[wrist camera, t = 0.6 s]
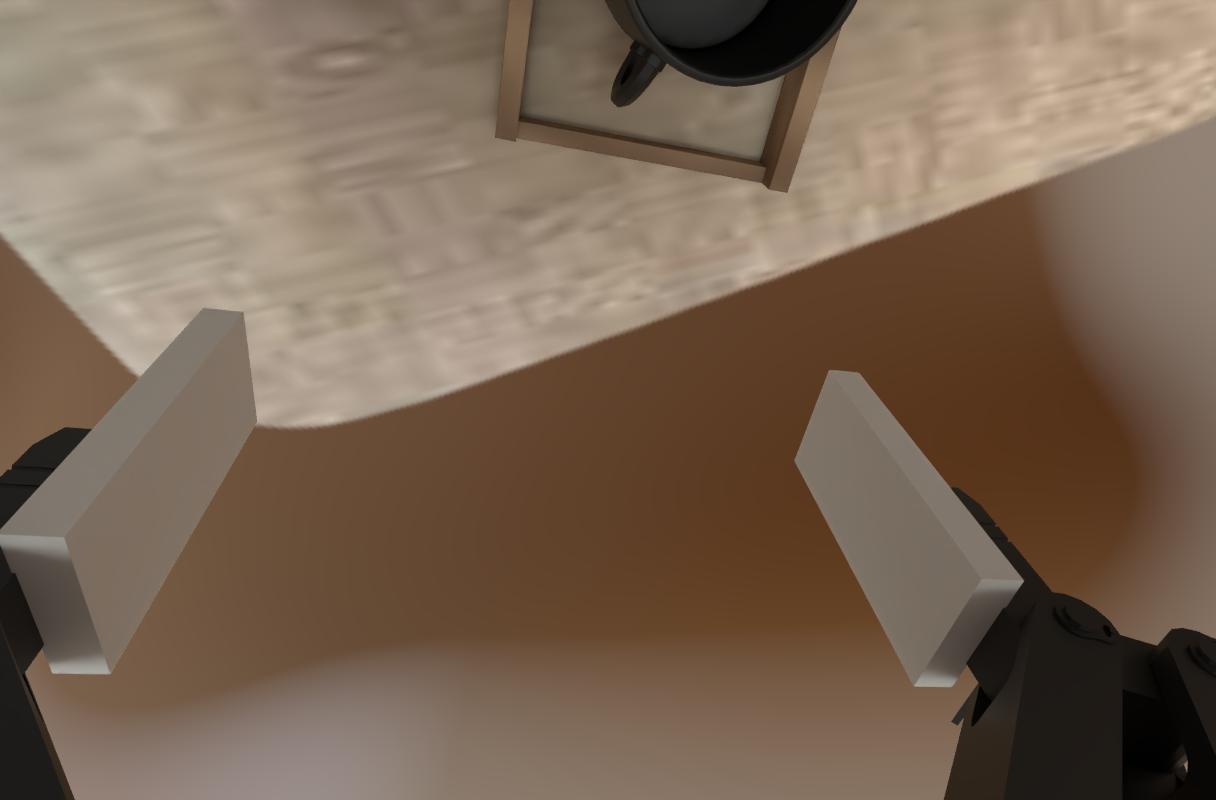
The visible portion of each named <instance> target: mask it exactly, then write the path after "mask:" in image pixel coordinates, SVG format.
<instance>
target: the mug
mask: <svg viewBox="0 0 1216 800" xmlns="http://www.w3.org/2000/svg"><path fill="white" fill-rule="evenodd" d="M605 1H606V3H607V5H608V7H609V9H610V11H611V13H612V15H613V17H614V18H615V20H616V21H617V22H618V24H619V25H620V26H621V28H622V29H623V30H624V31H625V32H626V33H627V34H628V35H629V36H630V37H631V38H632V39H633V40H634V42H633V43H632V45H631V47H630V49H631V51H630V53H629V54H628V56H627V57H626V59H625V61H624V62H623V64H622V66H621V68H620V70H619V72H618V74H617V76H616V78H615V81H614V83H613V87H612V92H611V101H612V102H613V103H614V104H615V105H616V106H617V107H623V106H627V105H630V104H631V103H633V102H634V101H635V100H636V99H637V98H638V97H639V96H640V95H641V94H642V93H643V92H644V91H645V89H646V88H647V87H648V86H649V84H650V83H651V82H652V80H653V79H654V78H655V76H656V75H657V74H658V72H661V71H662V70H663V68H664V67H665V65H666V64H669V65H670V66H672V67H673V68H675V69H676V70H678V71H679V72H681V73H683V74H685V75H687V76H689V77H691V78H694V79H696V80H698V81H701V82H705V83H709V84H713V85H719V86H732V87H738V86H748V85H754V84H759V83H763V82H766V81H770V80H773V79H776V78H778V77H780V76H782V75H784V74H786V73H788V72H790V71H792V70H794V69H795V68H797V67H799V66H800V65H802V64H803V63H805V62H806V61H808V60H809V59H810V58H811V57H813V56H814V55H815V54H816V53H817V52H818V51H819V50H821V49H822V48H823V47H824V46H825V45H826V44H827V43H828V42H829V41H830V39H831V38H832V37H833V36H834V35H835V34H836V32H837V31H838V30H839V29H840V28H841V26H842V25H843V23H844V22H845V20H846V19H847V17H848V16H849V14H850V13H851V11H852V9H853V8H854V6H855V4H856V2H857V0H605Z"/></svg>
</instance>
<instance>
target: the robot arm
mask: <svg viewBox="0 0 1216 800" xmlns="http://www.w3.org/2000/svg"><path fill="white" fill-rule="evenodd" d="M256 422H257V416H256V408H255V400H254V392H253V384H252V376H251V368H250V360H249V352H248V344H247V336H246V329H245V321H244V313H243V312H238V311H228V310H217V309H207V308H203V309H202V310H201V311H200V313H199V314H198V315H197V316H196V317H195V318H194V319H193V320H192V321H191V322H190V323H189V325H188V326H187V327H186V328H185V329H184V330H183V331H182V332H181V333H180V334H179V335H178V337H177V338H176V339H175V340H174V341H173V342H172V343H171V344H170V345H169V346H168V347H167V349H166V350H165V351H164V352H163V353H162V354H161V355H160V356H159V357H158V358H157V359H156V361H155V362H154V363H153V364H152V365H151V366H150V367H149V368H148V369H147V370H146V371H145V372H144V374H143V375H142V376H141V377H140V378H139V379H138V380H137V381H136V382H135V383H134V385H133V386H132V387H131V388H130V389H129V390H128V391H127V392H126V393H125V394H124V395H123V396H122V398H121V399H120V400H119V401H118V402H117V403H116V404H115V405H114V406H113V407H112V408H111V410H110V411H109V412H108V413H107V414H106V415H105V416H104V417H103V418H102V419H101V420H100V422H99V423H98V424H97V425H96V426H95V427H94V428H93V429H82V428H68V427H65V428H63V429H61V430H59V431H57V432H56V433H54V434H52V435H50V436H48V437H46V438H44V439H43V440H41V441H39V442H37V443H35V444H33V445H32V446H31V447H30V448H29V449H28V450H27V451H26V452H25V453H24V454H23V455H22V456H21V457H20V458H19V459H18V460H17V461H16V462H15V463H14V464H13V465H12V469H11V470H7V471H6V472H5V473H4V474H3V475H2V476H1V477H0V800H75V799H74V796H73V794H72V791H71V789H70V786H69V783H68V781H67V778H66V776H65V773H64V771H63V768H62V765H61V763H60V760H59V758H58V755H57V753H56V750H55V748H54V745H53V742H52V740H51V737H50V735H49V732H48V730H47V727H46V724H45V722H44V719H43V717H42V714H41V712H40V709H39V706H38V704H37V702H36V699H35V696H34V694H33V691H32V689H31V686H30V684H29V681H28V679H27V677H26V674H25V671H26V670H27V669H28V667H29V666H30V664H31V663H32V661H33V660H34V659H35V657H36V656H37V654H38V653H39V651H40V650H41V649H43V651H44V653H45V656H46V658H47V661H48V663H49V666H50V668H51V670H52V673H68V674H70V673H71V674H111V672H112V671H113V669H114V667H115V665H116V663H117V662H118V660H119V658H120V657H121V655H122V653H123V651H124V650H125V648H126V646H127V645H128V643H129V641H130V639H131V638H132V636H133V634H134V633H135V631H136V629H137V627H138V626H139V624H140V622H141V621H142V619H143V617H144V615H145V614H146V612H147V610H148V608H149V607H150V605H151V603H152V601H153V600H154V598H155V596H156V595H157V593H158V591H159V589H160V588H161V586H162V584H163V583H164V581H165V579H166V577H167V576H168V574H169V572H170V570H171V568H172V567H173V565H174V564H175V562H176V560H177V558H178V557H179V555H180V553H181V551H182V550H183V548H184V546H185V545H186V543H187V541H188V539H189V538H190V536H191V534H192V532H193V531H194V529H195V527H196V526H197V524H198V522H199V521H200V519H201V517H202V515H203V514H204V512H205V510H206V508H207V507H208V505H209V503H210V502H211V500H212V498H213V496H214V495H215V493H216V491H217V489H218V488H219V486H220V484H221V483H222V481H223V479H224V477H225V476H226V474H227V472H228V471H229V469H230V467H231V465H232V464H233V462H234V460H235V458H236V457H237V455H238V453H239V452H240V450H241V448H242V446H243V445H244V443H245V441H246V439H247V438H248V436H249V434H250V433H251V431H252V429H253V427H254V426H255V424H256ZM795 462H796V464H797V466H798V468H799V470H800V472H801V474H802V476H803V478H804V480H805V482H806V483H807V485H808V487H809V489H810V491H811V493H812V495H813V497H814V499H815V500H816V502H817V504H818V506H819V508H820V510H821V512H822V513H823V516H824V517H825V519H826V521H827V523H828V525H829V527H830V529H831V531H832V532H833V534H834V536H835V538H836V540H837V542H838V544H839V546H840V547H841V549H842V551H843V553H844V555H845V557H846V559H847V560H848V563H849V565H850V566H851V568H852V570H853V572H854V574H855V576H856V578H857V579H858V582H859V583H860V585H861V587H862V589H863V591H864V593H865V595H866V597H867V598H868V600H869V602H870V604H871V606H872V608H873V610H874V612H875V613H876V616H877V617H878V619H879V621H880V623H881V625H882V627H883V629H884V630H885V633H886V634H887V636H888V638H889V640H890V642H891V644H892V646H893V648H894V650H895V651H896V653H897V655H898V657H899V659H900V661H901V662H902V665H903V667H904V668H905V670H906V672H907V674H908V676H909V678H910V680H911V682H912V683H913V685H914V686H922V687H926V686H928V687H952V686H953V685H954V683H955V682H956V680H957V679H958V678H959V676H960V675H961V673H962V672H963V670H964V669H965V667H966V666H967V665H968V667H969V668H970V670H971V671H972V673H973V675H974V676H975V678H976V680H977V681H978V684H977V686H976V687H975V689H974V690H973V691H972V693H971V694H970V696H969V697H968V698H967V700H966V701H965V703H964V704H963V706H962V707H961V708H960V710H959V711H958V713H957V714H956V715H955V717H954V718H953V720H952V721H951V722H953V723H954V724H956V725H958V724H959V723H960V722H961V720H962V719H963V718H964V720H963V724H962V728H961V732H960V736H959V741H958V745H957V749H956V752H955V757H954V761H953V765H952V769H951V773H950V777H949V781H948V785H947V789H946V793H945V797H944V800H1216V639H1214V638H1211V637H1209V636H1207V635H1204V634H1202V633H1200V632H1197V631H1193V630H1189V629H1184V628H1178V629H1171V631H1170V632H1169V633H1168V634H1167V635H1166V636H1165V637H1164V638H1163V640H1162V641H1161V642H1160V643H1159V644H1158V645H1157V646H1156V645H1153V644H1149V643H1145V642H1142V641H1139V640H1135V639H1132V638H1128V637H1125V636H1122V635H1120V634H1119V633H1118V631H1117V630H1116V628H1115V627H1114V626H1113V625H1112V623H1111V622H1110V621H1109V620H1108V619H1107V618H1106V617H1105V616H1103V615H1102V614H1101V613H1100V612H1099V611H1097V610H1096V609H1095V608H1093V607H1091V606H1090V605H1088V604H1086V603H1085V602H1083V601H1081V600H1079V599H1077V598H1074V597H1071V596H1069V595H1066V594H1061V593H1054V592H1052V591H1051V590H1050V589H1049V587H1048V586H1047V585H1046V584H1045V582H1044V581H1043V580H1042V579H1041V578H1040V576H1039V575H1038V574H1037V573H1036V572H1035V570H1034V569H1033V568H1032V567H1031V566H1030V564H1029V563H1028V562H1027V561H1026V559H1025V558H1024V557H1023V556H1022V555H1021V553H1020V552H1019V551H1018V550H1017V549H1016V547H1015V546H1014V545H1013V544H1012V542H1008V538H1007V536H1006V535H1005V534H1004V533H1003V532H1002V530H1001V529H1000V528H999V527H996V526H995V524H996V523H995V522H994V521H993V519H992V518H991V517H990V516H989V515H988V514H987V512H986V511H985V510H984V509H983V508H982V506H981V505H980V504H979V503H977V502H976V501H975V500H973V499H972V498H971V497H969V496H968V495H967V494H966V493H964V492H963V491H961V490H960V489H959V488H954V487H949V486H948V484H947V483H946V482H945V481H944V479H943V478H942V477H941V476H940V474H939V473H938V472H937V471H936V469H935V468H934V467H933V466H932V464H931V463H930V462H929V461H928V459H927V458H926V457H925V456H924V454H923V453H922V452H921V451H920V449H919V448H918V447H917V445H916V444H915V443H914V442H913V441H912V439H911V438H910V437H909V435H908V434H907V433H906V432H905V430H904V429H903V428H902V427H901V425H900V424H899V423H898V422H897V421H896V419H895V418H894V417H893V415H892V414H891V413H890V412H889V410H888V409H887V408H886V406H885V405H884V404H883V403H882V401H881V400H880V399H879V398H878V397H877V395H876V394H875V393H874V391H873V390H872V389H871V388H870V386H869V385H868V384H867V383H866V381H865V380H864V379H863V378H862V376H861V375H860V374H859V373H856V372H845V371H835V370H829V372H828V375H827V377H826V380H825V383H824V385H823V388H822V390H821V394H820V396H819V399H818V401H817V404H816V406H815V409H814V412H813V414H812V417H811V419H810V422H809V424H808V427H807V430H806V432H805V435H804V438H803V440H802V443H801V445H800V448H799V451H798V453H797V456H796V458H795ZM1187 761H1188V770H1187V772H1186V769H1185V766H1184V764H1185V763H1186V762H1187Z"/></svg>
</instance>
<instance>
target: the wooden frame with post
mask: <svg viewBox="0 0 1216 800" xmlns="http://www.w3.org/2000/svg"><path fill="white" fill-rule="evenodd" d="M532 4H533V0H510V2H509V11H508V21H507V30H506V39H505V49H504V58H503V67H502V77H501V86H500V96H499V105H498V114H497V124H496V133H495V138H500V139H505V140H511V141H516V138H519V139H524V140H530V141H535V142H541V143H546V144H552V145H557V146H563V147H568V148H574V149H579V150H585V151H590V152H595V153H601V154H606V155H612V156H617V157H623V158H628V159H634V160H639V161H645V162H650V163H656V164H661V165H667V166H672V167H678V168H683V169H689V170H694V171H700V172H705V173H711V174H716V175H722V176H727V177H733V178H738V179H744V180H749V181H755V182H760V183H763V184H764V185H765V186H766V187H767V188H768V189H769V190H775V191H780V192H786V193H787V192H788V189H789V186H790V183H791V180H792V177H793V174H794V171H795V168H796V165H797V162H798V158H799V155H800V152H801V149H802V146H803V143H804V140H805V137H806V134H807V131H808V128H809V125H810V122H811V119H812V116H813V112H814V109H815V106H816V103H817V100H818V97H819V94H820V91H821V88H822V85H823V82H824V79H825V76H826V73H827V70H828V66H829V63H830V60H831V57H832V54H833V51H834V48H835V45H836V42H837V39H838V36H839V33H840V30H841V28H840V29H839V30H838V31H837V32H836V34H835V35H834V36H833V37H832V38H831V39H830V41H829V42H828V43H827V44H826V45H825V46H824V47H823V48H822V49H821V50H819V51H818V52H817V53H816V54H815V55H814V56H813V57H811V58H810V59H809V60H808V61H806V62H805V63H803V64H802V65H800V66H799V67H797V68H795V69H794V70H792V71H790V72H788V73H786V77H785V80H784V83H783V87H782V90H781V93H780V97H779V100H778V103H777V107H776V110H775V113H774V117H773V120H772V124H771V127H770V130H769V134H768V137H767V140H766V144H765V147H764V150H763V154H762V157H761V160H760V162H757V161H751V160H746V159H741V158H735V157H730V156H725V155H720V154H714V153H709V152H704V151H698V150H693V149H688V148H682V147H677V146H672V145H666V144H661V143H656V142H651V141H645V140H640V139H635V138H629V137H624V136H619V135H613V134H608V133H603V132H597V131H592V130H587V129H581V128H576V127H571V126H566V125H560V124H555V123H550V122H544V121H539V120H534V119H528V118H523V117H519V111H520V103H521V95H522V86H523V78H524V70H525V62H526V54H527V45H528V37H529V29H530V21H531V13H532ZM841 27H842V26H841Z"/></svg>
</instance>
